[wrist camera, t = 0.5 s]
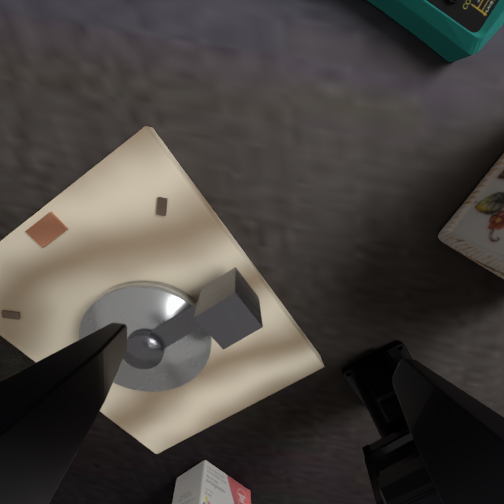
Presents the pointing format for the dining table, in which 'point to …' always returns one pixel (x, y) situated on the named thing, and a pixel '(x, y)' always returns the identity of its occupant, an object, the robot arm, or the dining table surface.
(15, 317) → the dial board
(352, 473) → the dining table surface
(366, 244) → the dining table surface
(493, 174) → the decorative jar
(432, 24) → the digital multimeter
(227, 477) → the ink cartridge box
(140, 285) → the dial
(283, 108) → the dining table surface
